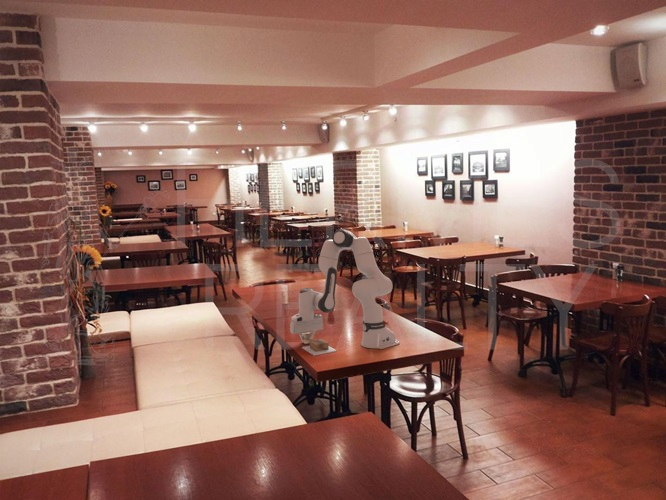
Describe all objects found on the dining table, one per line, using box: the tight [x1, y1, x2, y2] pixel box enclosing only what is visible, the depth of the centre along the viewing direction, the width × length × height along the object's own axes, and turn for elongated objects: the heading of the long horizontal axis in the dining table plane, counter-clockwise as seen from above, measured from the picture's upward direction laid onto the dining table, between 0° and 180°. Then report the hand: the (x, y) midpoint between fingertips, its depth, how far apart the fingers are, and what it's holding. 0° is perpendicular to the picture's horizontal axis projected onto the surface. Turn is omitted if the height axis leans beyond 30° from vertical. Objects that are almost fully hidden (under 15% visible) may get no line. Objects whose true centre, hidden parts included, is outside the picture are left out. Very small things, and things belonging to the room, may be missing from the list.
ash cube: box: [301, 332, 314, 345], centre depth 312 cm, size 5×5×5 cm
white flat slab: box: [301, 345, 338, 357], centre depth 298 cm, size 14×16×1 cm
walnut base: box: [308, 338, 329, 352], centre depth 298 cm, size 8×8×4 cm
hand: (307, 339), depth 312 cm, fingers closed on ash cube, 5 cm apart
